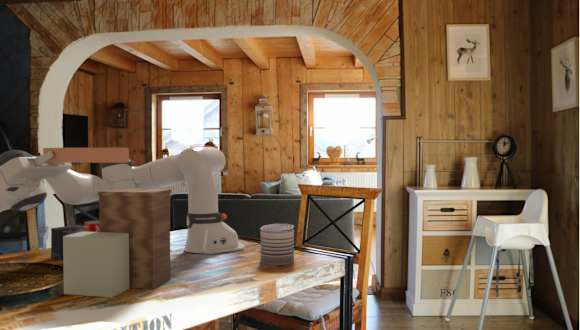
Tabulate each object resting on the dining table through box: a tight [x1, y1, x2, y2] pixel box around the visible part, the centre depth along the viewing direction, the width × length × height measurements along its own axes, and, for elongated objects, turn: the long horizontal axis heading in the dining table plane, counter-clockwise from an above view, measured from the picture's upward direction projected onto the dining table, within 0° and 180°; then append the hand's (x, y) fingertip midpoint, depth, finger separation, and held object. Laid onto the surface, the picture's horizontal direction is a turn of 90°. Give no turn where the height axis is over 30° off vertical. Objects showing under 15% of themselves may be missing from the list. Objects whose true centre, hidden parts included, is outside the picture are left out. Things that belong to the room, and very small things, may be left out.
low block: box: [62, 231, 130, 298], centre depth 126 cm, size 14×8×15 cm, turn 78°
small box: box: [50, 224, 84, 261], centre depth 170 cm, size 11×6×10 cm, turn 148°
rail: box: [42, 146, 130, 164], centre depth 130 cm, size 24×4×4 cm, turn 76°
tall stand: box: [97, 188, 172, 290], centre depth 135 cm, size 17×11×26 cm, turn 78°
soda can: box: [83, 220, 100, 232], centre depth 165 cm, size 7×7×13 cm
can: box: [259, 223, 295, 266], centre depth 162 cm, size 11×11×12 cm
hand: (59, 153), depth 131 cm, fingers closed on rail, 3 cm apart
